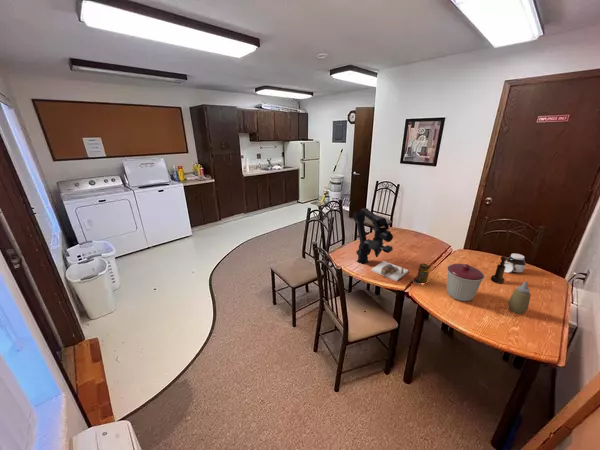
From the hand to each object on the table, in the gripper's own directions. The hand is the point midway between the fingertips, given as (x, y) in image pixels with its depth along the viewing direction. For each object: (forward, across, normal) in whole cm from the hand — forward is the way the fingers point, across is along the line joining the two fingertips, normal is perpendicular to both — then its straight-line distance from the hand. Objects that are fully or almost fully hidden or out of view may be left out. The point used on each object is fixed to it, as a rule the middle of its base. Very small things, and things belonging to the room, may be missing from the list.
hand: (376, 256), depth 166 cm
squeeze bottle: (+12, +74, +18) cm, 77 cm away
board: (+12, +6, +8) cm, 16 cm away
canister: (+12, +49, +11) cm, 52 cm away
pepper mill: (+12, +61, +45) cm, 77 cm away
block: (+11, +6, +5) cm, 13 cm away
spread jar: (+12, +65, +66) cm, 94 cm away
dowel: (+11, +14, +10) cm, 21 cm away
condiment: (+12, +27, +10) cm, 31 cm away
